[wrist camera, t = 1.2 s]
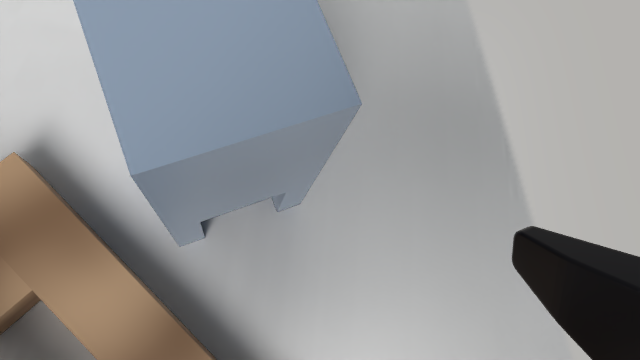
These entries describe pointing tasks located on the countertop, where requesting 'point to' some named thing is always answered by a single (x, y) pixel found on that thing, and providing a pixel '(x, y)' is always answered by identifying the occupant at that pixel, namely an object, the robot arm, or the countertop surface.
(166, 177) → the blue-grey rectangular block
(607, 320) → the robot arm
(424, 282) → the countertop surface
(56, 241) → the wooden block stand
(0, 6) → the countertop surface
